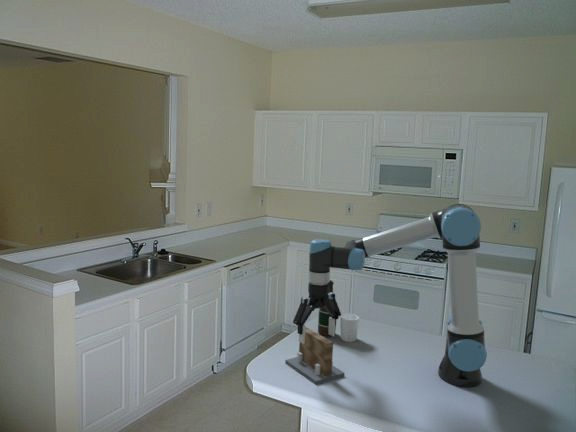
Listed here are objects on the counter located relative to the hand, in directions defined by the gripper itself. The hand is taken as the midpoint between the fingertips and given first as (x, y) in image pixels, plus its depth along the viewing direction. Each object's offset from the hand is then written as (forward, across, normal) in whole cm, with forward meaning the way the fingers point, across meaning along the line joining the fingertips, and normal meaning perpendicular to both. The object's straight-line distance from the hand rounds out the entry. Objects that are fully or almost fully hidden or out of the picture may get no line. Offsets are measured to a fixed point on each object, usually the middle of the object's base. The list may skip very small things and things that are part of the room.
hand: (316, 338), depth 180 cm
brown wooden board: (+11, 0, 0) cm, 11 cm away
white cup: (+12, -30, -16) cm, 36 cm away
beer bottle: (+12, -25, -25) cm, 38 cm away
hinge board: (+12, 0, 0) cm, 12 cm away
